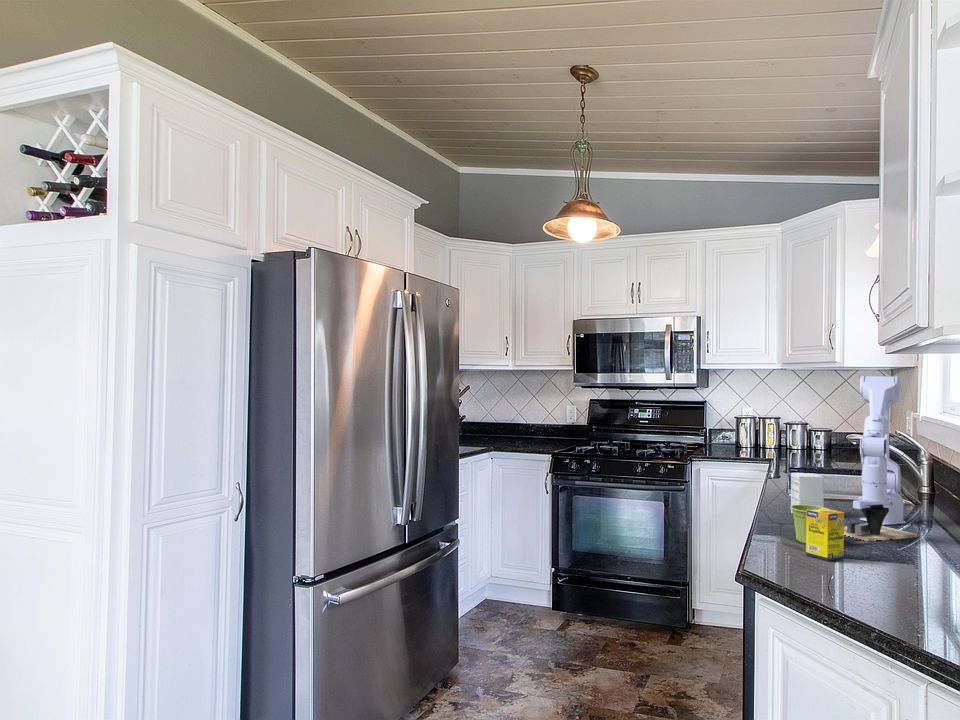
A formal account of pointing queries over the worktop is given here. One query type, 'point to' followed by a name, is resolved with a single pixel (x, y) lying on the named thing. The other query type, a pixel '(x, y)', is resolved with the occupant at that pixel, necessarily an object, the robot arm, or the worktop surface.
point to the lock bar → (862, 529)
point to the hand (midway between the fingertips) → (874, 534)
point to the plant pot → (801, 520)
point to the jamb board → (884, 534)
